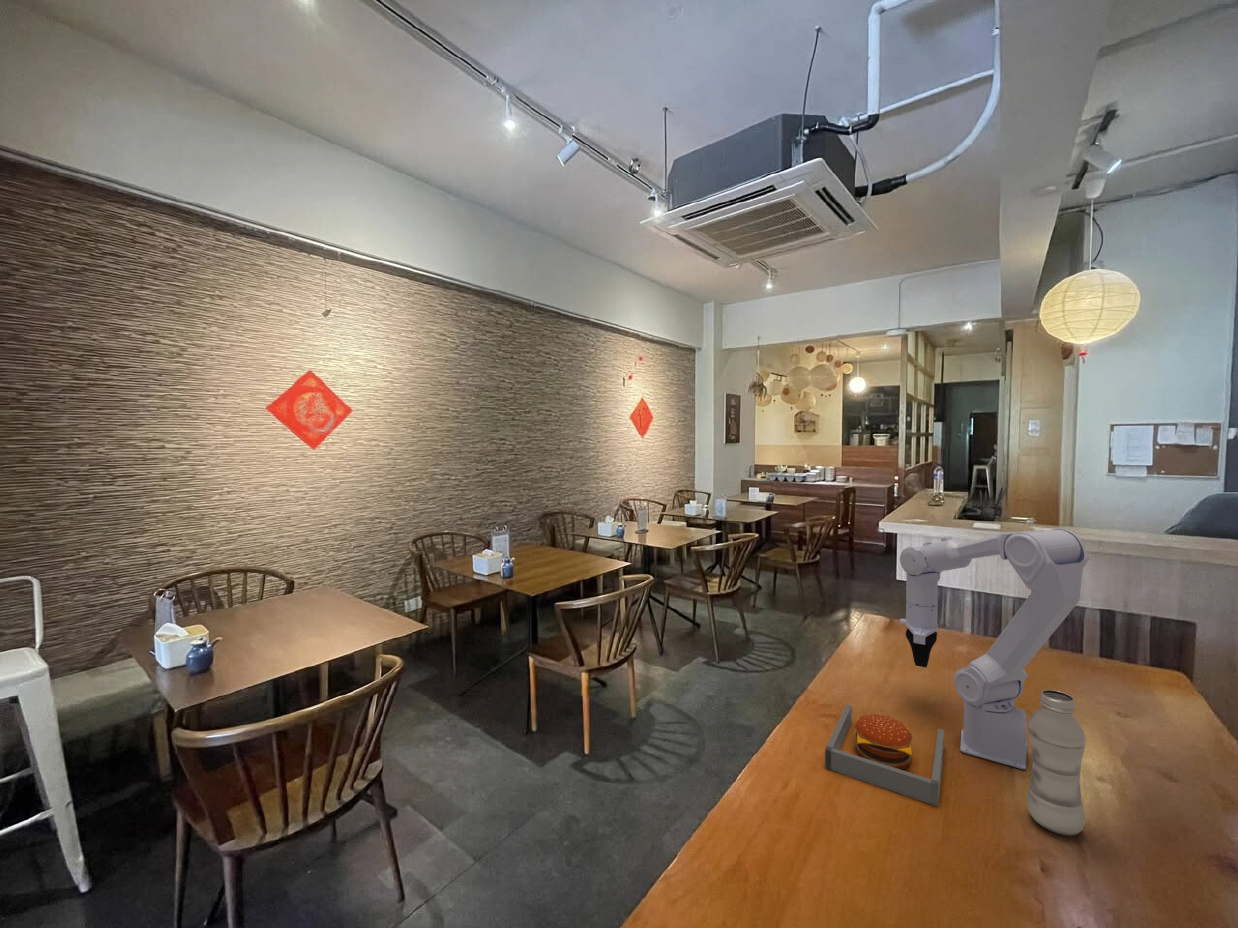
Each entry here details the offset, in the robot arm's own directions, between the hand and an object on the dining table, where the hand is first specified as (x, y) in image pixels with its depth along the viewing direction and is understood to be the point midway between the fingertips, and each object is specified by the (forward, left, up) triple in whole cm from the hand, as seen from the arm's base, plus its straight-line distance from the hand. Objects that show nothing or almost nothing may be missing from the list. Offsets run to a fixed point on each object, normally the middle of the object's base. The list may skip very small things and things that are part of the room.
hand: (921, 665), depth 108 cm
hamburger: (+4, +22, -10) cm, 24 cm away
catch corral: (+4, +23, -9) cm, 25 cm away
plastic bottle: (-19, +27, -10) cm, 34 cm away
